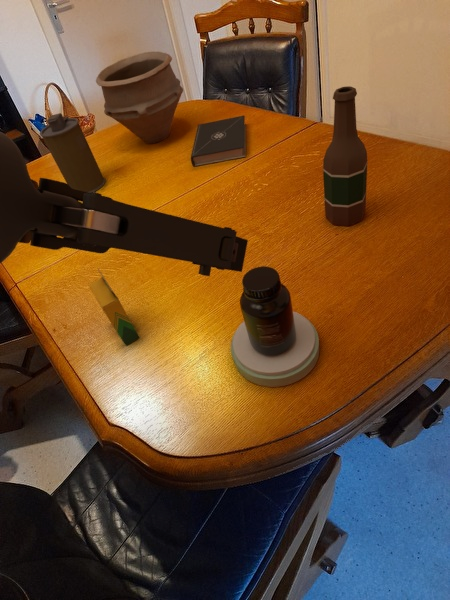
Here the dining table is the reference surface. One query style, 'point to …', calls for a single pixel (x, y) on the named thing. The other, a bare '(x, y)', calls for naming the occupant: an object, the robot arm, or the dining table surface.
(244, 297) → the supplement bottle
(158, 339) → the dining table surface
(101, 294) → the crayon box
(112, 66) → the planter
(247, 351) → the scale
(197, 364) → the dining table surface
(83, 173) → the canister
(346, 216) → the beer bottle
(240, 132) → the book
